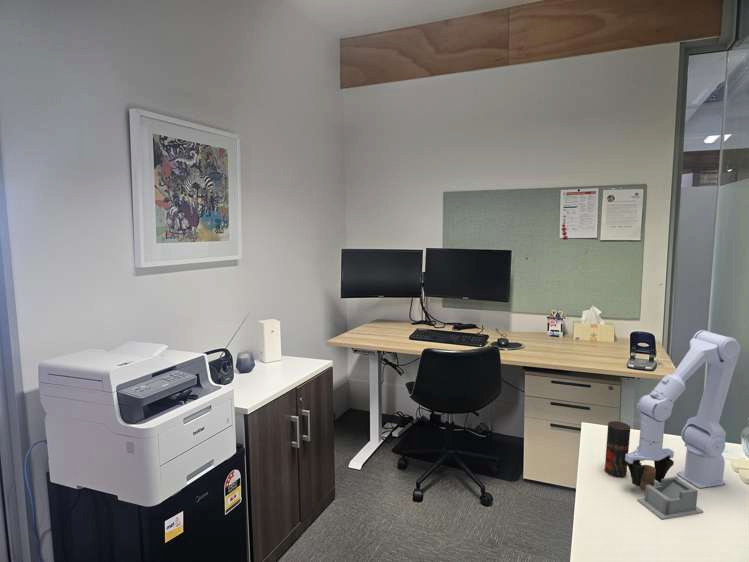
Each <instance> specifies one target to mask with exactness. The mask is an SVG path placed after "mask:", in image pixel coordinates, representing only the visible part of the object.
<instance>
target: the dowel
mask: <svg viewBox="0 0 749 562" xmlns="http://www.w3.org/2000/svg"><path fill="white" fill-rule="evenodd" d="M642 465H643V466H644V467H645V469H644V471H643V474H642V477H641V484H640V486H639V488H640V489H642V490H644V491H645V489H646V485H651V486H655V482H656V480H655V473H656V469H655V466H653V465H650V464H642Z"/></svg>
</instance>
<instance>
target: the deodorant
mask: <svg viewBox="0 0 749 562" xmlns="http://www.w3.org/2000/svg"><path fill="white" fill-rule="evenodd" d="M630 434H631V426H630V425H629V424H627V423H625V422H622V421H615V420H614V421H613V420H612V421H608V423H607V434H606V436H607V437H606V449H605V461H604V472H605V473H606V475H608V476H610V477H614V478H618V479H623V478H626V477H627V474H628V466H627V463H626V462H625V456H626V454H628V453H629V449H630V436H631V435H630Z"/></svg>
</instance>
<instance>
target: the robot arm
mask: <svg viewBox="0 0 749 562" xmlns="http://www.w3.org/2000/svg"><path fill="white" fill-rule="evenodd" d="M741 347H742V346H741V345H740V344H739V342H738V341H737V340H736V338H734V337H732V336H726V335H723V334H722V335H721V334H719V333H714V332H710V331H708V330H705V329H700V330H699V331H697V332H696V333H695V334H694V335H693V337H692V338H691V339H690V341H689V348H690V349H689V350H688V351H687V352H686V354H685V356H684V357H683V359H682V360H681V362H680V363H679V364H678V366H677V367H676V369H675V370H674V371H673V373H672V374H665V375H664V377H663V378H661V380H660V381H659V382H658V383H657V385H656V386H655V387H654V389H652V390H651V392H650V393H649V394H645V395H643V396H642V397H641V398H640V399H639V400H638V403H637V404H636V408H637V410H638V412H639V418H640V429H639V430H640V431H639V439H638V442H639V443H638V446H636V449H635V450H633V451H632V452H628V454H626V456H625V462H626V463H627V469H628V470H629V474H630V477H631V483H632V484H633V485H634V486H635V487H637V488H638V487H639V488H640V484H641V477H642V474H643V471H644V469H645V467H644V466H643V465H644V464H642V462H643V461H650V462H651V461H652V462H653V465H654V466H653V467H654V468H655V469H656V473H655V482H657V483H659V484H661V479H664V478H665V477H666V475H667V473H668V471H669V470H670V469H671V468H672V467H673V466H674V463H675V461H674V460H673V458H674V455H675V451H673V450H672V449H671V448H667V447H666V448H663V446H664V445H663V443H664V432H665V423H666V420H667V419H669V418H670V416H671V415H672V411H673V408H674V406H675V404H674V403H675V401H677V399H678V398H679V397H680V396H681V395H682V393H683V392H684V391H685V390H686V383H685V382H686V381H687V380H688V379H689V378H690V377H691V376H692V375H693V374H695V372H697V370H698V369H699V368H700V367H702V366H703V364H704V363H709V364H710V367H709V372H708V375H707V378H706V381H705V386H704V388H703V389H704V390H703V393H702V396H701V399H700V403H699V407H698V411H697V412H696V413H697V414H696V416H692V417H690V418H687V421H686V423H685V425H684V426H683V428H682V430H681V432H680V433H681V434H680V437H681V440H682V441H683V442H684V447H686V452H685V453H686V454H685V463H684V470H683V471H677V472H676V475H678V476H679V477H681V478H683V479H684V480H686V481H688V482H689V483H690V484H692V485H693V486H695V487H697V488H699V489H701V488H702V489H703V488H708V487H715V486H721V485H726V482H725V481H724V471H725V465H726V463H725V458H724V456H723V453H724V451H725V448H726V435H727V432H726V431H725V429H724V428H723V427H722V426H721V424H720V420H721V416H722V413H723V409H724V405H725V402H726V398H727V396H728V393H729V388H730V385H731V382H732V377H733V374H734V371H735V369H736V368H735V367H737V363H738V359H739V355H740V351H741Z"/></svg>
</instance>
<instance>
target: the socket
mask: <svg viewBox="0 0 749 562" xmlns="http://www.w3.org/2000/svg"><path fill="white" fill-rule="evenodd" d="M644 491H645V492H644V497H643V498H637V500H636V501H637V502H638V503H639V504H641V505H642V506H644V507H645V508H646V509H647V510H648V511H650V512H651V513H652V514H654V516H656V517H658V519H660V520H669V519H675V518H678V517H680V518H681V517H685V516H691V515H698V514H703V513H704V510H703V509H702V508H700V507H698V506H697V504H698V503H697V501H698V494H699V490H698V489H696V488H694V487H692V486H690V485H689V484H688V483H686V482H684V481H683V480H681V479H680V477H677V476H672V477H666V478H665V477H664V479H661V483H660V484H659V485H654V486H651V485H646V489H645V490H644Z"/></svg>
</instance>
